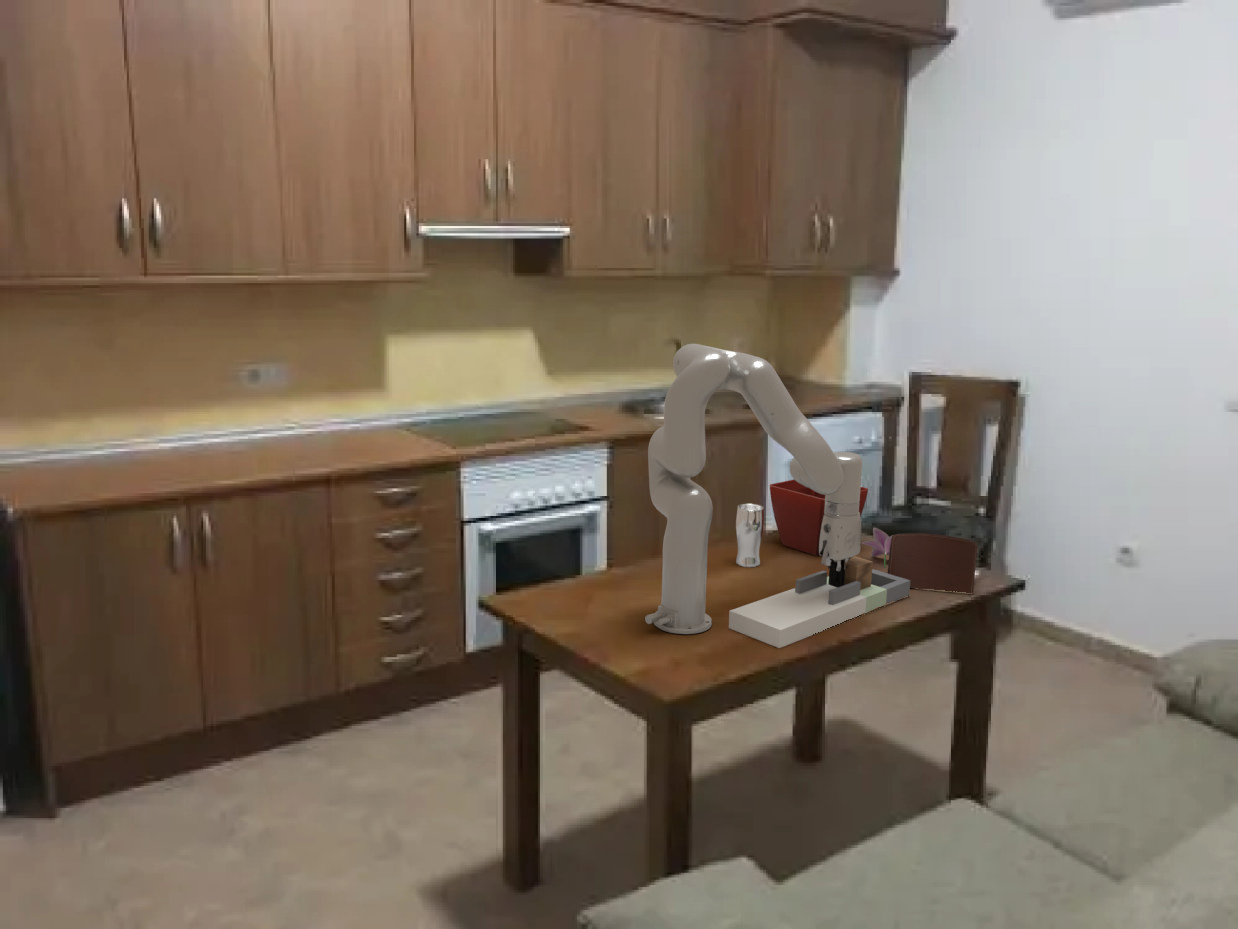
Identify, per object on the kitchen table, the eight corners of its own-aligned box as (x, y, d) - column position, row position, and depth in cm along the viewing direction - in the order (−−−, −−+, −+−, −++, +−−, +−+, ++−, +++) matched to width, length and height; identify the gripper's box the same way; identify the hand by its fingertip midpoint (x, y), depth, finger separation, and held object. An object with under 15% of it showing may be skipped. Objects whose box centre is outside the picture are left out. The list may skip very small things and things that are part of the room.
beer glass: (741, 557, 273) (743, 501, 270) (765, 562, 270) (768, 506, 266) (729, 564, 267) (732, 508, 264) (754, 569, 264) (757, 512, 260)
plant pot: (810, 532, 297) (813, 474, 293) (865, 549, 282) (870, 488, 279) (764, 544, 285) (767, 484, 281) (819, 562, 270) (824, 499, 266)
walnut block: (855, 592, 238) (856, 566, 237) (833, 584, 242) (835, 560, 241) (870, 586, 242) (872, 561, 240) (849, 579, 246) (851, 555, 245)
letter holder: (973, 596, 249) (978, 539, 246) (886, 587, 254) (891, 531, 250) (970, 582, 258) (976, 527, 255) (887, 574, 263) (891, 520, 260)
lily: (918, 571, 268) (918, 534, 271) (895, 562, 260) (895, 525, 263) (877, 574, 277) (877, 539, 279) (853, 566, 269) (853, 529, 271)
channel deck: (779, 648, 216) (781, 616, 215) (728, 628, 226) (730, 597, 225) (909, 596, 247) (911, 568, 246) (859, 580, 257) (861, 553, 256)
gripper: (834, 517, 226) (829, 597, 231) (875, 505, 236) (869, 583, 240) (807, 509, 232) (802, 588, 236) (848, 498, 242) (842, 574, 246)
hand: (836, 585), depth 238 cm, fingers closed
